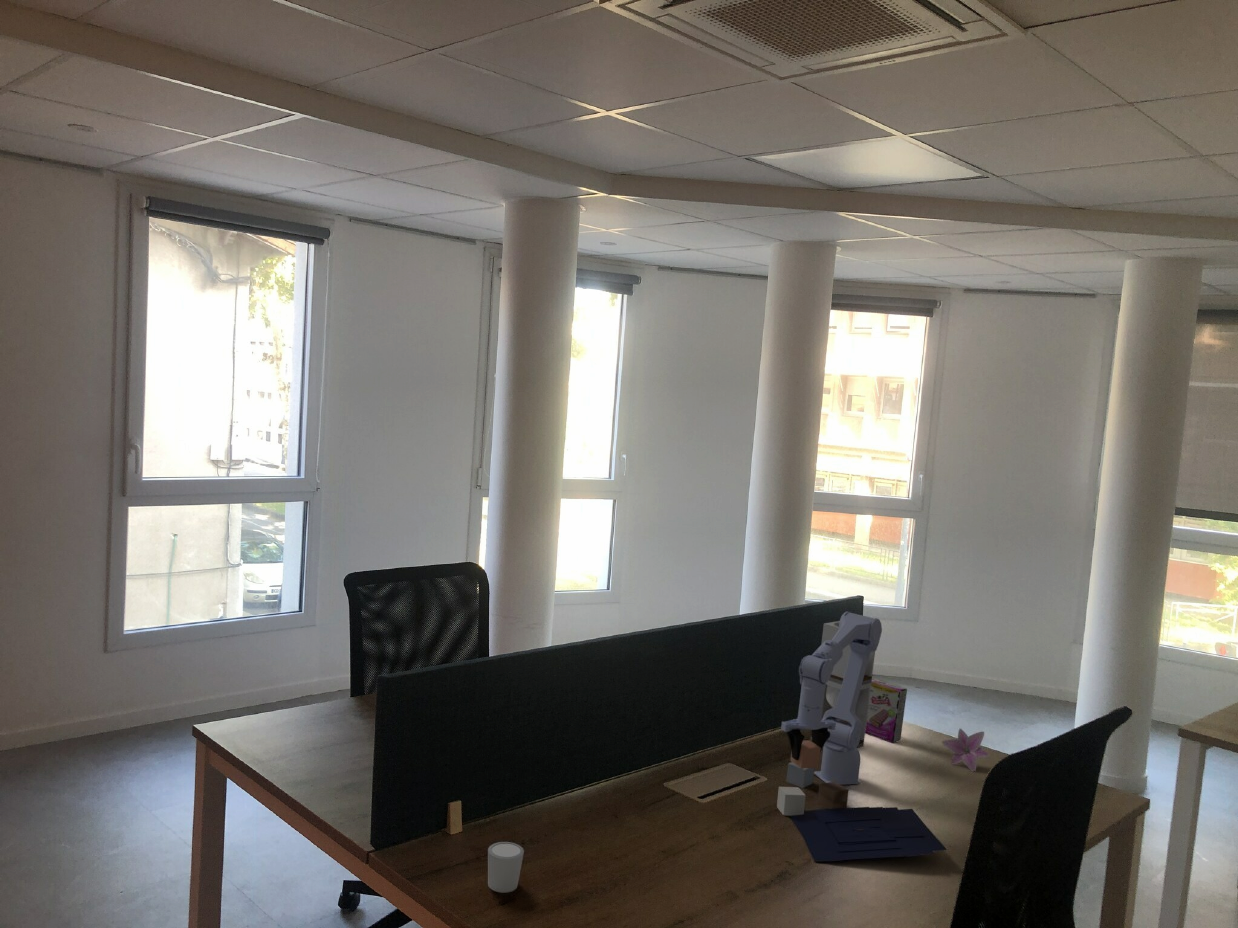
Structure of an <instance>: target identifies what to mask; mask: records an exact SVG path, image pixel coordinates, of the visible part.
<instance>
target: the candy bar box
mask: <svg viewBox="0 0 1238 928" xmlns="http://www.w3.org/2000/svg"><path fill="white" fill-rule="evenodd" d="M907 694H908V688H906V687H903V686H900V685H897V684H893V683H890V682H887V681H884V680H881V679H878V678H872V681H871V689H870V697H869V706H868V714H867V722H866V730H865V735H866V734H867V735H869V736H872V737H875V738H877V739H880V740H883V741H886V742H889V743H891V744H895V743H898V742H900V741H901V738H902V732H903V723H904V716H905V708H906V701H907Z"/></svg>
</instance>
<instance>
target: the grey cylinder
mask: <svg viewBox="0 0 1238 928" xmlns="http://www.w3.org/2000/svg"><path fill="white" fill-rule="evenodd" d="M524 852H525V850H524V848H523V847H522V846H521V845H520V844H518V843H515V842H511V841H510V842H509V841H499V842H495V843H492V844H491V845H489V847H488V848H487V886H488V888H489V889H491V890H492V891H494V892H497V893H503V894H504V893H511V892H514V891H515V890H517V888H518V885H519V884H518V883H519V880H520V876H521V875H520V874H521V869H522V863H523V858H524Z"/></svg>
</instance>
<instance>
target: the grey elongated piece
mask: <svg viewBox="0 0 1238 928" xmlns="http://www.w3.org/2000/svg"><path fill="white" fill-rule="evenodd" d="M839 622H840V620H838V621H832V622H825V623H823V628H822V635H821V637H822V638H821V644H820V646H821V645H822V644H823V642H825V641H826V640H832V638H833V637H834V636H835V634H836V633H837V631H838V630H839ZM850 653H851V648H850V646H849V645H847V646H846V647H845V648H844V649H843V656H842V657H841V659H840V660H839V661H838V662H837V663H836V664H835V665H834V667H833V671H832V673H831V676H830V678H829V680H828V681H827V682H826V685H825V693H824V702H823V710H822V719H823V717H824V714H825V712H826V711H828V710H830V709H832V708H835V707H836V704H837V701H838V697H839V693H840V690H841V686H842V682H843V679H844V675H845V671H846V668H847V664H848V661H849V657H850ZM875 655H876V651H872V652H871V653H870V656H869V660H868V663H867V667H866V671H865V674H864V678H863V682H862V685H861V689H860V693H859V696H858V700H857V704H856V708H855V711H854V712H855V714H856V716H857V717H858V718H859V720H860V721H861V723H862V727H861V737H860V742H859V744H858V746H857V747H856V748H857V749H860V748H863V747H864V745H865V737H866V733H865V730H866V722H867V714H868V706H869V697H870V689H871V681H872V679H873V673H874V672H873V671H874V663H875ZM834 720H837V721H840V722H843V723H847V724H850V725H851V723H849V722H846V721H843V720H840V719H834ZM809 740H810V741H811V742H812V732H811V733H810V737H809Z"/></svg>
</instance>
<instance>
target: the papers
mask: <svg viewBox="0 0 1238 928" xmlns="http://www.w3.org/2000/svg"><path fill="white" fill-rule="evenodd" d="M789 817H790V819H791V821H792V822H793V824H794V826H795V827H796V829H797V831H799V832H800V833H799V834H800V835H801V836H802V838H803V840H804V843H805V844H806V846H807V848H808V851H809V853H810V855H811V856H812V859H813V861H814V862H815V863H816V862H818V863H820V862H839V861H847V860H848V861H849V860H861V859H877V858H878V859H879V858H894V857H895V858H896V857H903V858H904V857H905V858H906V857H918V856H921V855H933V854H936V853H935V852H939V851H941V852H942V851H948V849H947V848H946V847H945V845H943V843H942V842H941V841H940V840H939V838H938V837H936V835H935V834H934V833H933V832H932V831H931V830H930V828H929V827H928V826H927V825H926V823H924V821H923V820H922V819H921V817H919V815H918V814H917V813H916V812H915V810H914V809H913V808H905V809H902V808H901V809H899V808H898V807H896V806H894V807H892V806H890V807H883V806H874V807H873V806H871V807H870V806H858V807H856V806H855V807H847V808H838V809H826V808H824V809H823V808H821V809H811V810H804V814H802V815H792V816H789Z"/></svg>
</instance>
